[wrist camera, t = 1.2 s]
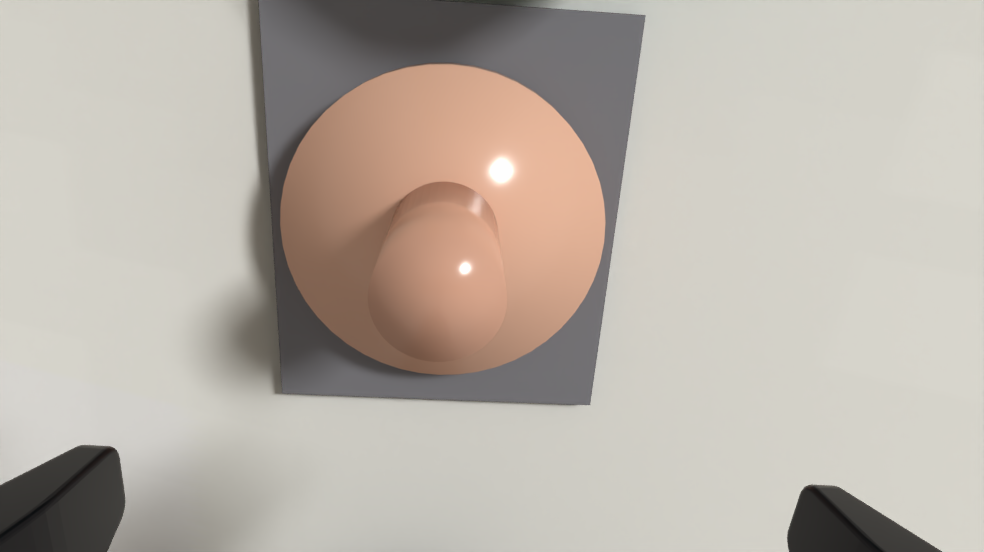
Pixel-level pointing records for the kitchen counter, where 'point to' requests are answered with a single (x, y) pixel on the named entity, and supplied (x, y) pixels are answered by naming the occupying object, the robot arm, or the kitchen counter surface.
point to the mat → (466, 40)
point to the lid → (442, 219)
